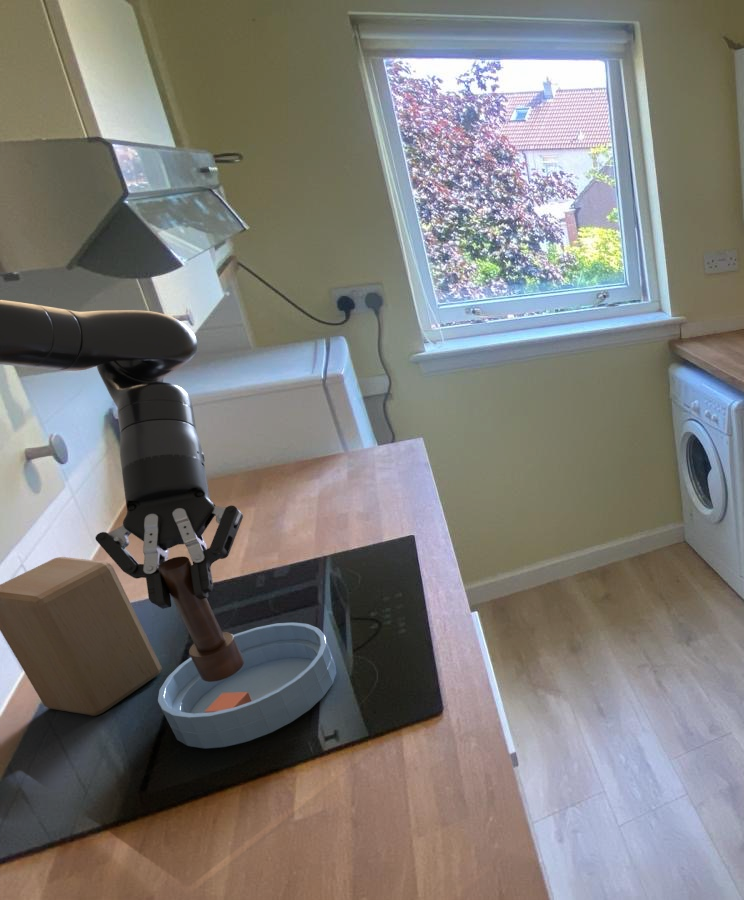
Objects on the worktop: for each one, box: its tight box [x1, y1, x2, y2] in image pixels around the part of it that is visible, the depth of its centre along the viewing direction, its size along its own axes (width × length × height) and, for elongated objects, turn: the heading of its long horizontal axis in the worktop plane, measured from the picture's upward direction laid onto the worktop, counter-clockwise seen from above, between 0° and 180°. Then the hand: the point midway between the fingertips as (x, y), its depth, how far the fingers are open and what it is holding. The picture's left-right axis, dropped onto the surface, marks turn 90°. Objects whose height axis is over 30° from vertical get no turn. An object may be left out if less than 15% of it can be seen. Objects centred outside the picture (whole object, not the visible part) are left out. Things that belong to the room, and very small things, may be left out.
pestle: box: [158, 555, 244, 682], centre depth 87 cm, size 4×4×16 cm
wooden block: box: [0, 556, 163, 717], centre depth 103 cm, size 10×10×20 cm
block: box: [205, 692, 251, 713], centre depth 100 cm, size 4×4×4 cm
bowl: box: [157, 621, 338, 749], centre depth 104 cm, size 19×19×6 cm
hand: (183, 601), depth 83 cm, fingers closed on pestle, 3 cm apart
